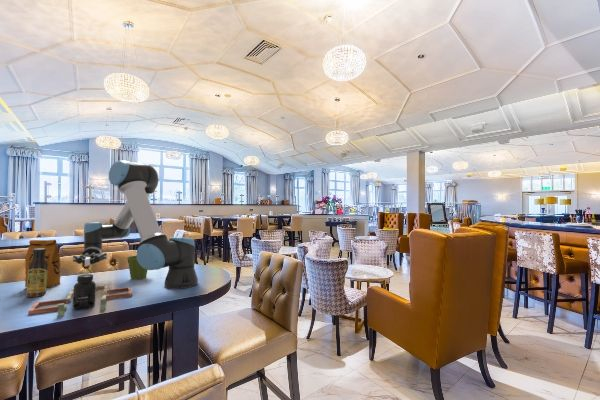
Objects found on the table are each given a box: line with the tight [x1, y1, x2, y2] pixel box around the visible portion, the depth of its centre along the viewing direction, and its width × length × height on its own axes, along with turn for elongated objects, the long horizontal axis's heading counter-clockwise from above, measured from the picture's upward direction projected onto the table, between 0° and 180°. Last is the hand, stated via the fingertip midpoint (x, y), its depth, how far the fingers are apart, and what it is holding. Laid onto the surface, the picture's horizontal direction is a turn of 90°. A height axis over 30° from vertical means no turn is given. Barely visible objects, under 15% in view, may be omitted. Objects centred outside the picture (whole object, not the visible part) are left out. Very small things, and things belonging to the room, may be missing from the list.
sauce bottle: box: [26, 248, 48, 298], centre depth 125 cm, size 6×6×20 cm
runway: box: [28, 284, 133, 318], centre depth 119 cm, size 32×32×4 cm
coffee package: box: [24, 239, 62, 288], centre depth 140 cm, size 10×12×22 cm
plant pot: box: [125, 255, 149, 281], centre depth 155 cm, size 12×12×11 cm
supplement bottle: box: [72, 273, 97, 311], centre depth 111 cm, size 7×7×12 cm
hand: (86, 262), depth 121 cm, fingers closed
